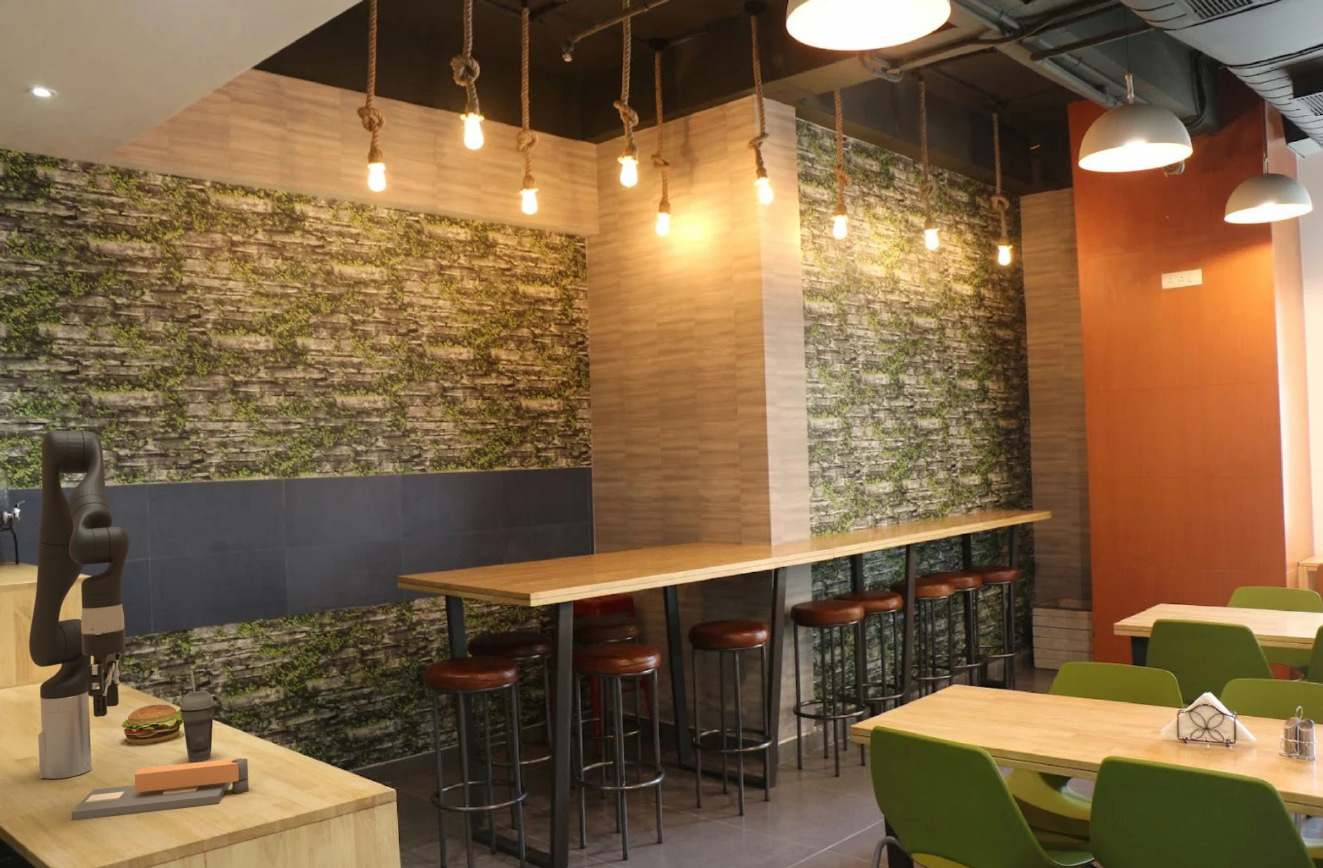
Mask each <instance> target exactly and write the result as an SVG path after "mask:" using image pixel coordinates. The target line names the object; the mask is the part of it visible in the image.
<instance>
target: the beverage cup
mask: <svg viewBox="0 0 1323 868" xmlns="http://www.w3.org/2000/svg"><path fill="white" fill-rule="evenodd" d="M189 673H190V679H191V686H192V690H191V691H189V692H187V693H186V694H185V696H184V697H183V698H182V700H181V703H180V709H179V710H180V712H181V716H182V719H183V723H182V725H183V729H184V730H183V731H184V739H185V745H186V752H187V758H188V762H189V763H198V762H206V761H209V760H210V759H211V757H212V756H211V754H212V746H213V745H212V741H213V740H212V739H213V725H214V724H213V722H214V721H213V720H214V714H215V707H216V704H215V701H214V698H213V696H212V695H211V693H209V692H208V691H207V690H206V689H200V688H199V689H198V688H197V689H196V683H195V679H194V670H193V669H190V671H189Z"/></svg>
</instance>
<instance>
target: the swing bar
mask: <svg viewBox="0 0 1323 868" xmlns="http://www.w3.org/2000/svg"><path fill="white" fill-rule="evenodd" d="M248 763H249V762H248V758H242V757H239V758H229V759H218V760H207V761H201V762H189V763H181V764H172V765H171V764H170V765H163V766H160V765H159V766H151V767H143V768H139V769H138V770H137V771H136V773H134V785H135V792H144V791H153V790H162V789H171V788H180V787H189V786H198V785H207V784H216V783H226V782H230V783H232V782H235V781H239V780H243V779H246V778H248V779H249V768H248V767H249V765H248Z"/></svg>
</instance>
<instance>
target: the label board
mask: <svg viewBox="0 0 1323 868" xmlns="http://www.w3.org/2000/svg"><path fill="white" fill-rule="evenodd" d="M230 784H231V785H232V793H234V794H240V793H245V792H247V791H249V789H250V788H249V777H248V778H246V779H243V780H239V781H235V782H226V783H216V784H207V785H198V786H189V787H180V788H171V789H162V790H153V791H144V792H135V784H132V785H123V786H112V787H105V788H104V787H103V788H95V789H92V790H91V792H90V793H88V795H86V797H84V799H83V800H81V802H80V803H79V804H78V805H77V806H76V807H75V808H74V809H72V811H71V812H70V813H71V821H75V820H77V821H78V820H83V819H84V820H85V819H92V818H93V819H94V818H102V817H110V816H111V817H112V816H119V815H127V814H128V815H129V814H137V813H147V812H155V811H164V810H172V809H182V808H189V807H191V808H192V807H197V806H198V807H199V806H207V805H217V804H219V803H220V801H221V799H223V796H224V794H225V793H226V791H227V789H228V788H229V786H230Z"/></svg>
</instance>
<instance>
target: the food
mask: <svg viewBox="0 0 1323 868" xmlns="http://www.w3.org/2000/svg"><path fill="white" fill-rule="evenodd" d="M127 717H128V718H126V719H125V720H124V721H123V722H122V724H121V727H122V729H123V733H124V735H125V736H126V742H127V743H129V744H131V745H132V744H133V745H148V744H156V743H162V742H165V741H169V740H171V739H174V738H176V737H178V736H179V734H180V728H181V726H182V725H183V719H182V716H181V711H180V709H179V710H177V709H176V708H175V707H173V706H171V705H169V704H149V705H146V706H142V707H139V708H136V709H135V710H133V711H132V712H131V713H130V714H129V715H128V716H127Z"/></svg>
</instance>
